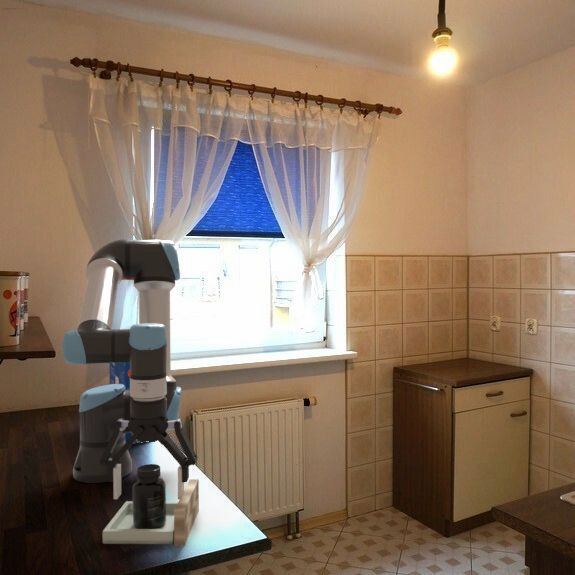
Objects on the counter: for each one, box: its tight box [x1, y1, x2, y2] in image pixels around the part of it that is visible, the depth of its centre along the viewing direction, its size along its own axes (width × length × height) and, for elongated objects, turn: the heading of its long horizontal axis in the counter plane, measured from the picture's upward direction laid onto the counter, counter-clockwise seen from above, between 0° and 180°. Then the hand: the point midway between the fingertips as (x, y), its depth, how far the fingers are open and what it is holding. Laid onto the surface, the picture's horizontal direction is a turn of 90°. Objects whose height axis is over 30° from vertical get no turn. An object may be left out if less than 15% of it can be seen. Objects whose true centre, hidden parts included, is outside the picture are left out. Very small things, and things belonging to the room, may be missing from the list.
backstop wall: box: [173, 478, 200, 547], centre depth 111 cm, size 16×2×7 cm, turn 0°
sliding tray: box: [102, 500, 179, 545], centre depth 111 cm, size 14×14×2 cm
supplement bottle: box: [132, 463, 167, 529], centre depth 111 cm, size 7×7×12 cm
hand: (149, 496), depth 111 cm, fingers open, 13 cm apart
